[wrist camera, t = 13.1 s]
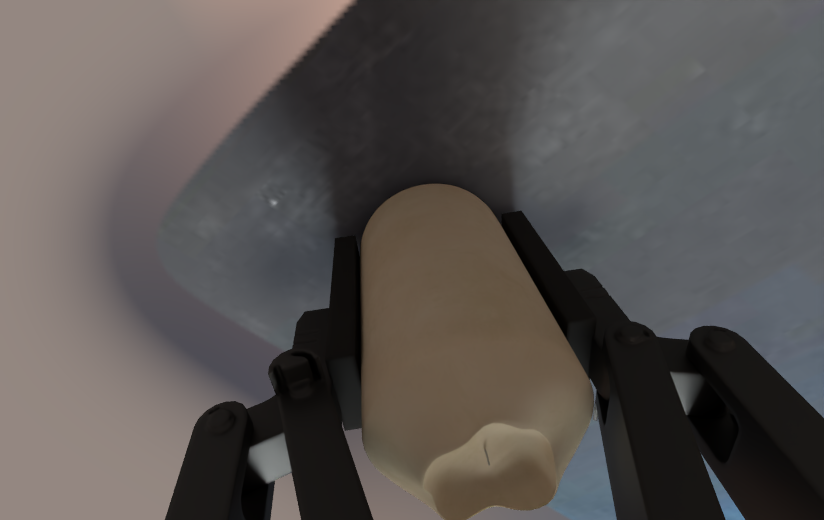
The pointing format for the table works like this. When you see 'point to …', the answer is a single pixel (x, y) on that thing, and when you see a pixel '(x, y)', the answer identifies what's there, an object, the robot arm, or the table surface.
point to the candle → (462, 360)
